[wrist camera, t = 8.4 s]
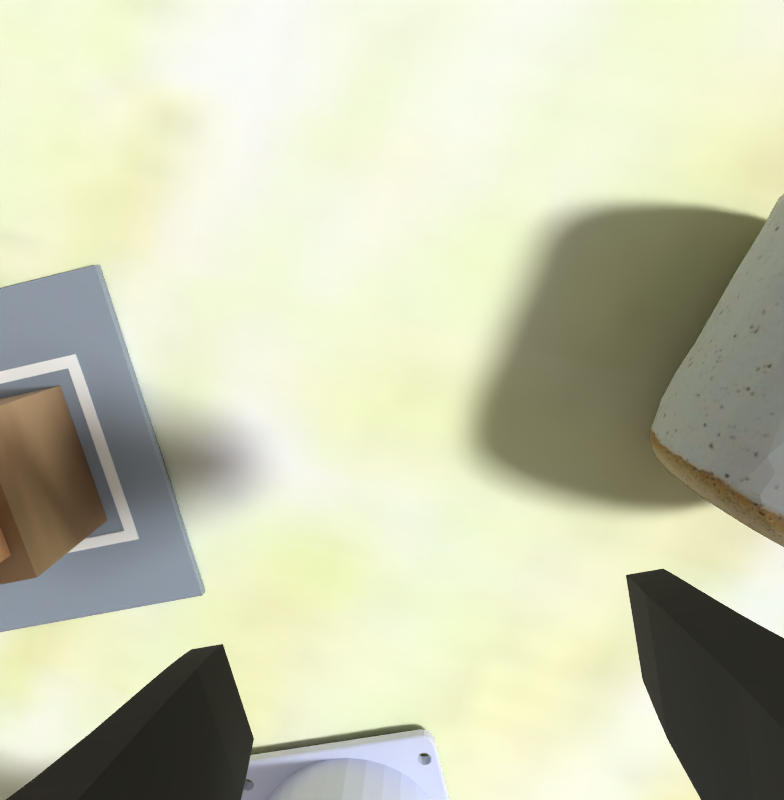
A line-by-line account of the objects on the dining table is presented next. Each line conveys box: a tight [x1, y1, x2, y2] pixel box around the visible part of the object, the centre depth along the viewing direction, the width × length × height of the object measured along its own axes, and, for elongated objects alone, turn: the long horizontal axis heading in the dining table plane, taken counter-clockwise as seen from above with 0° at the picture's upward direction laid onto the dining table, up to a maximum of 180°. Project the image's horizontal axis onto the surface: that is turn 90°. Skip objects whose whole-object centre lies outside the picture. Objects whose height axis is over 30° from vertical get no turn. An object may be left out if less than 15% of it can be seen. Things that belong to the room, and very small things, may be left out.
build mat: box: [0, 265, 205, 632], centre depth 21 cm, size 12×10×1 cm
